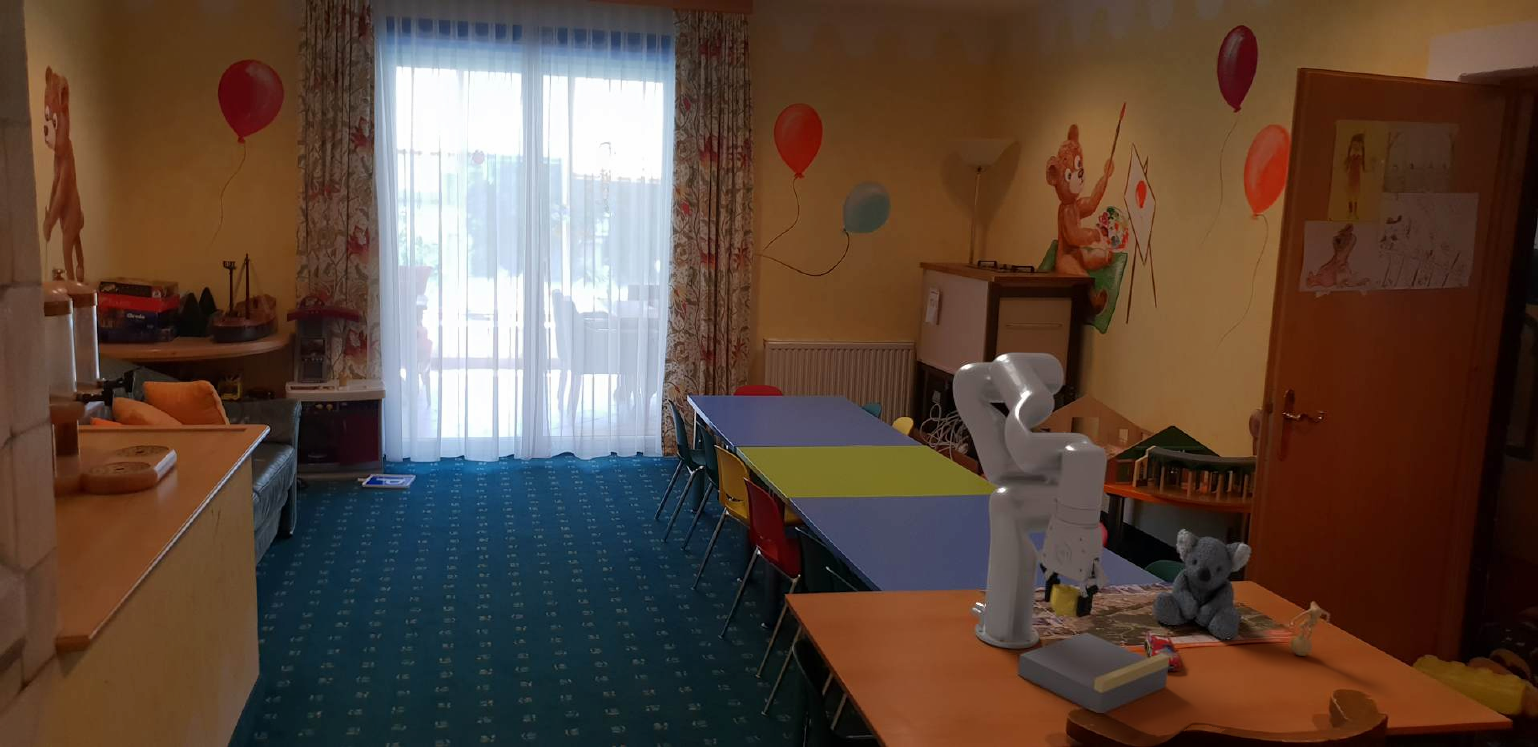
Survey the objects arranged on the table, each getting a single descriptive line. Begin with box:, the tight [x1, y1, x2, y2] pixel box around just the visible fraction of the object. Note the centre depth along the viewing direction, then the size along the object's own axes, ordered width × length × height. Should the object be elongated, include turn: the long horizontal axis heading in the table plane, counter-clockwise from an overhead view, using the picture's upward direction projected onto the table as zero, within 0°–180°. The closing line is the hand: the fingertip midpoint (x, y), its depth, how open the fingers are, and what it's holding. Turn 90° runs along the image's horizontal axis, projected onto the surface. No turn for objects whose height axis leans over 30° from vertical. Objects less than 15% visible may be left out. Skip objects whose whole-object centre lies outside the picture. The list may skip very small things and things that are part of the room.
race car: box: [1143, 632, 1181, 672], centre depth 213 cm, size 13×5×4 cm, turn 169°
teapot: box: [1049, 582, 1081, 618], centre depth 195 cm, size 8×6×5 cm
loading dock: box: [1017, 631, 1169, 714], centre depth 201 cm, size 18×20×6 cm
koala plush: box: [1152, 528, 1252, 640], centre depth 232 cm, size 17×18×20 cm
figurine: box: [1289, 601, 1331, 657], centre depth 216 cm, size 8×6×12 cm
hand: (1067, 607), depth 195 cm, fingers closed on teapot, 6 cm apart
